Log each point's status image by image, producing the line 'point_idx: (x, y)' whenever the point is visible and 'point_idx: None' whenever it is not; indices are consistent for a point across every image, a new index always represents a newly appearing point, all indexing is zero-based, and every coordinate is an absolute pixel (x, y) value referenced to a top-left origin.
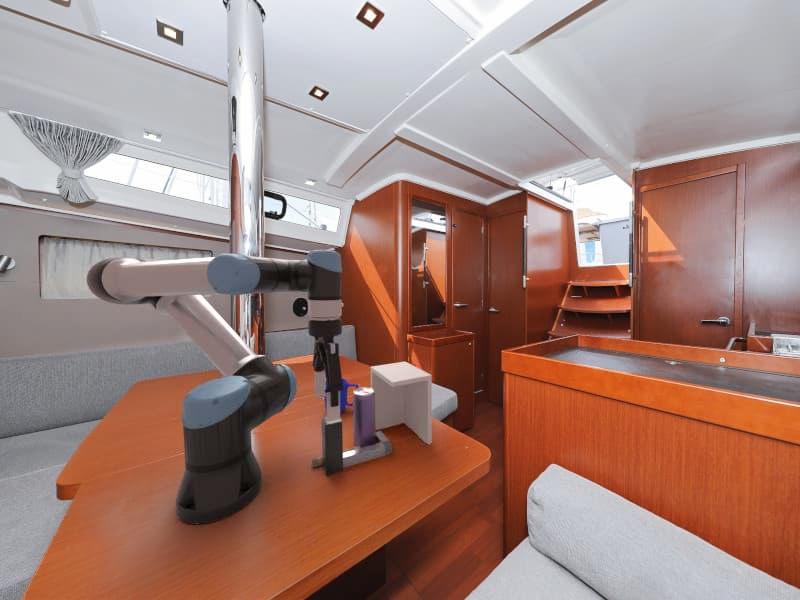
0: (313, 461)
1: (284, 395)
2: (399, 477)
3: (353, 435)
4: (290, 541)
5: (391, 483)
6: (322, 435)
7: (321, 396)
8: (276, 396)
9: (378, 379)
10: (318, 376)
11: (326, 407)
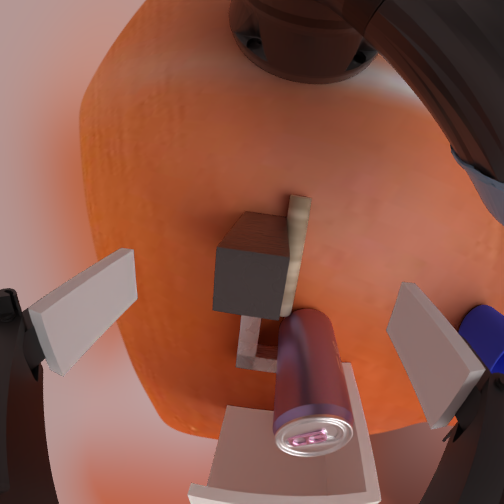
0: (294, 197)
1: (465, 133)
2: (168, 326)
3: (319, 321)
4: (125, 119)
5: (160, 308)
6: (277, 236)
7: (394, 312)
8: (437, 69)
9: (354, 477)
10: (445, 372)
11: (485, 308)
